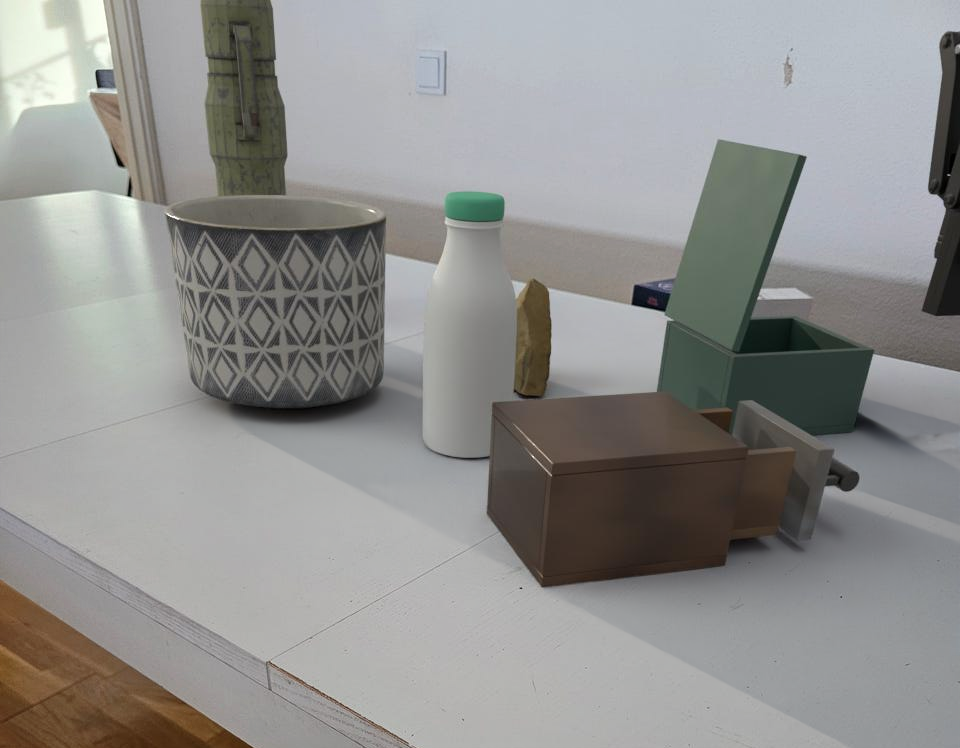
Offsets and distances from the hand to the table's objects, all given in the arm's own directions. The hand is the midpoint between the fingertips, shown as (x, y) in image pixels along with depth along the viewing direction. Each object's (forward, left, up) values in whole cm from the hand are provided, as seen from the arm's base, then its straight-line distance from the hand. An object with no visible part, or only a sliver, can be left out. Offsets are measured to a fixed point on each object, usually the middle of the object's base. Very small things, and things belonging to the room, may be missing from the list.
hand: (944, 312), depth 66 cm
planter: (+42, -37, -15) cm, 58 cm away
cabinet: (+25, 0, -15) cm, 29 cm away
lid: (+4, -22, +1) cm, 22 cm away
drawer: (+15, 0, -14) cm, 20 cm away
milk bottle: (+29, -20, -15) cm, 38 cm away
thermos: (+41, -69, -15) cm, 82 cm away
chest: (-1, -22, -15) cm, 27 cm away
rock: (+19, -36, -15) cm, 43 cm away
